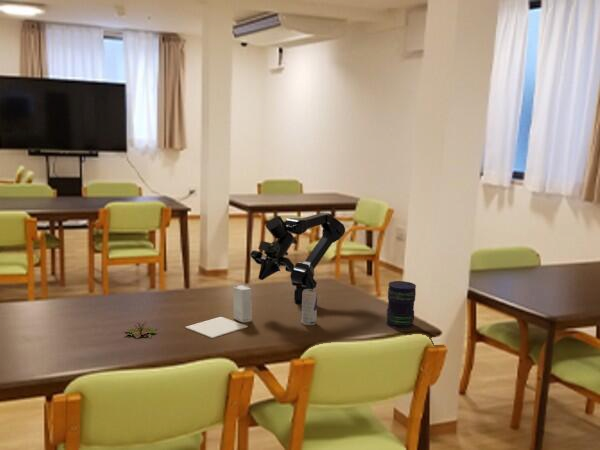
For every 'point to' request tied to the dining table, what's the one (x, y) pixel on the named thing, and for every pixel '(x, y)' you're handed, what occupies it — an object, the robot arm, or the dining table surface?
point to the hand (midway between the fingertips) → (260, 279)
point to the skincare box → (242, 303)
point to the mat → (216, 327)
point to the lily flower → (141, 330)
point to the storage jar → (401, 304)
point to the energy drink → (309, 306)
